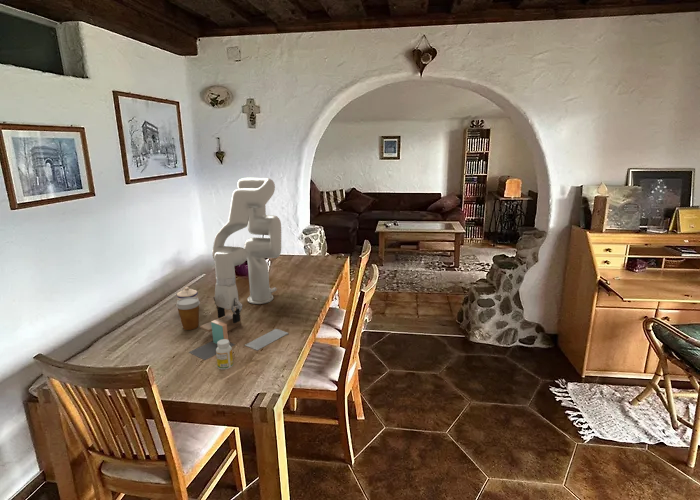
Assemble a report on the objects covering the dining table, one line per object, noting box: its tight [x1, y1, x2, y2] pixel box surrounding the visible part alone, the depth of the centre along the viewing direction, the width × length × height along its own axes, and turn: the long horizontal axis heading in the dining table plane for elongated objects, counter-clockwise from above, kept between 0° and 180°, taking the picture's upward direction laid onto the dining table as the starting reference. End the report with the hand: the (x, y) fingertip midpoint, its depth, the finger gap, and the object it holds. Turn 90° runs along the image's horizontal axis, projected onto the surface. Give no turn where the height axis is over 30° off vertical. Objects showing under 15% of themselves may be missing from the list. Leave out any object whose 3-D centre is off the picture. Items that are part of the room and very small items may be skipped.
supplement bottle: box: [215, 339, 234, 370], centre depth 144 cm, size 5×5×10 cm
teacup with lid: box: [176, 286, 199, 301], centre depth 192 cm, size 12×9×12 cm
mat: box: [188, 340, 236, 361], centre depth 157 cm, size 14×10×1 cm
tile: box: [210, 319, 229, 344], centre depth 159 cm, size 2×7×9 cm, turn 55°
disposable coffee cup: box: [175, 297, 201, 331], centre depth 175 cm, size 10×10×12 cm
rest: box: [244, 328, 289, 351], centre depth 164 cm, size 17×7×1 cm, turn 145°
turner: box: [199, 313, 242, 333], centre depth 171 cm, size 16×6×5 cm, turn 144°
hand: (229, 319), depth 173 cm, fingers open, 9 cm apart
